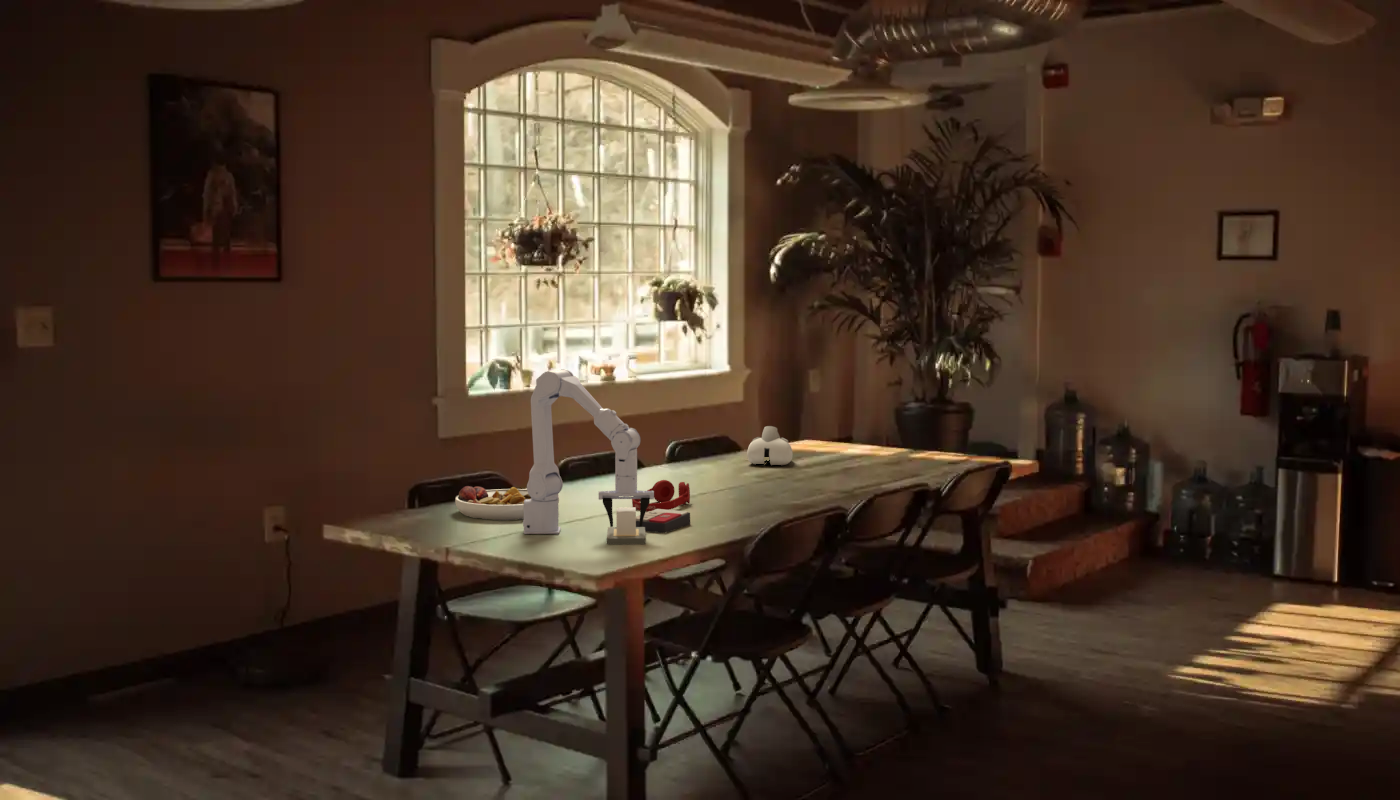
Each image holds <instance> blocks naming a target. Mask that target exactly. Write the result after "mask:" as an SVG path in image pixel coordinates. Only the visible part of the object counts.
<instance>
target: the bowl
mask: <svg viewBox="0 0 1400 800" xmlns="http://www.w3.org/2000/svg"><path fill="white" fill-rule="evenodd" d="M526 499H531V496H530V495H529V494H528V491H527V488H525V489H524V488H522V489H521V488H516V487H515V486H512V487H510V488H501V489H499V488H498V489H486V488H484V487H482V486H474V487H473V486H471V485H470V486H469V485H466V486H463V487H462V488H461V489H460V490H459V492H458V495H456V496H455V500H454V501H455V505H456V509H457V510H458V511H459V512H460V513H461V514H463V515H464V516H466V517H468V516H469V518H472V517H474V518H473V519H477V518H482V519H481V520H487V519H494V520H493V521H513V520H515V519H519V520H524V500H526ZM559 502H560V496H559V494H558V504H559ZM515 521H516V520H515Z"/></svg>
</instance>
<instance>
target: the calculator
mask: <svg viewBox="0 0 1400 800" xmlns="http://www.w3.org/2000/svg"><path fill="white" fill-rule="evenodd" d="M687 526H691V512H689V511H685V510H677V509H676V510H674V509H670V510H665V509H655V510H653V511H646V512H645V515H644V518H643V523H642V527H645V532H650V533H652V532H653V533H662V534H666V533H669V532H672V531H675V530H677V529H680V528H681V527H682V528H683V527H687ZM636 527H640V514H639V515H636Z"/></svg>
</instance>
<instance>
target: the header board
mask: <svg viewBox="0 0 1400 800" xmlns="http://www.w3.org/2000/svg"><path fill="white" fill-rule="evenodd" d="M606 545H646V531H645V527H636V535H617V526H616V527H615V526H613V527H610V526H608V527H607V532H606Z"/></svg>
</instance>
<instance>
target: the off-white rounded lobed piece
mask: <svg viewBox="0 0 1400 800" xmlns="http://www.w3.org/2000/svg"><path fill="white" fill-rule="evenodd" d="M746 457H747V461H748V462H749V463H750V464H752V463H753V465H756V464H765V463H766V462H767V461H764V457H769V460H770V461H769V463H770V465H771V466H772V465H781V466H785V465H788V464H790V462H792V460H793V449H792V446H791V444H790V443H789V440H788V439H786V438H784V437H781V436H780V434H779V431H778V427H776V426H772V425H767V426H764V428H763V430H762V434H761V437H760V436H757V437H755V438H753V439H752V441H751V442H750V444H749V445H748V448H747V451H746Z"/></svg>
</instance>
